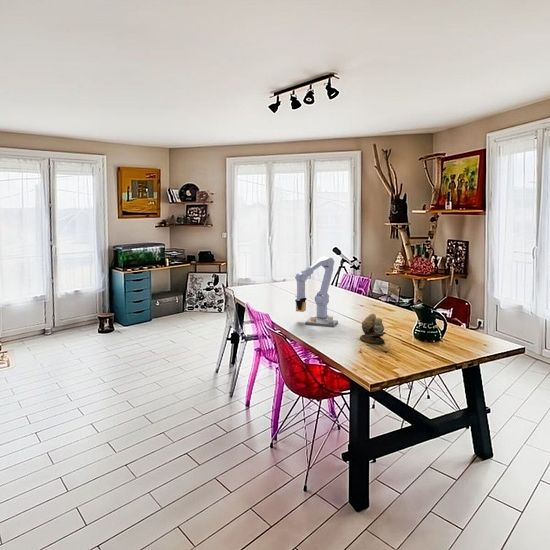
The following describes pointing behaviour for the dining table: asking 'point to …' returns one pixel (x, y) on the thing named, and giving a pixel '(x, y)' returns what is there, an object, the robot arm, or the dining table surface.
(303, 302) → the orange cube
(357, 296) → the dining table surface
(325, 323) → the panel
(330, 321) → the untagged breaker
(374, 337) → the stacked stone sculpture
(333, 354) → the dining table surface
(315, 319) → the white rectangular block
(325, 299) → the robot arm
